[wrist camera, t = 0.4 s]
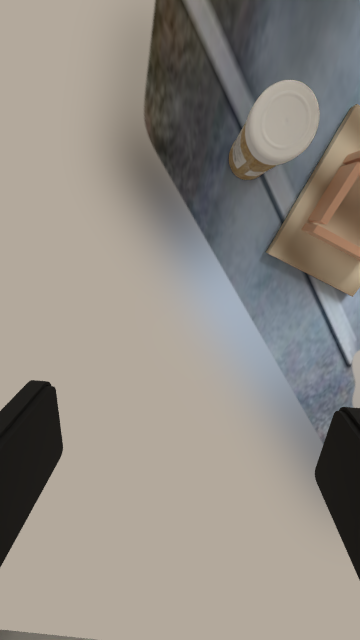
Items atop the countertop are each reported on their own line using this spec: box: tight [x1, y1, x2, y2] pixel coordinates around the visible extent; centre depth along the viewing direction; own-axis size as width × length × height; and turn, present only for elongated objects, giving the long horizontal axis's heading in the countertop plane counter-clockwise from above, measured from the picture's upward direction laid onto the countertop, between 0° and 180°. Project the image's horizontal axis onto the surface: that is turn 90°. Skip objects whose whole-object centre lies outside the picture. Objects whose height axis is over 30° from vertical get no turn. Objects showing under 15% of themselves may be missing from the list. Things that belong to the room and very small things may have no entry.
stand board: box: [266, 104, 360, 297], centre depth 31 cm, size 16×12×1 cm
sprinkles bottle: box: [229, 80, 320, 180], centre depth 24 cm, size 5×5×13 cm
